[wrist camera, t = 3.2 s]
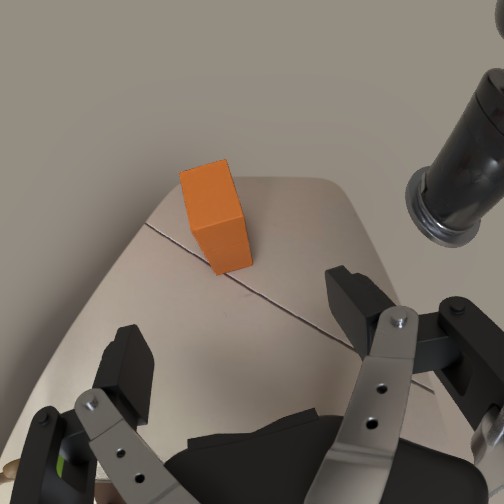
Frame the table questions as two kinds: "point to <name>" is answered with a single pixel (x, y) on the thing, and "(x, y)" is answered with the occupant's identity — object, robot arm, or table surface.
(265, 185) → the table surface
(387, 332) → the robot arm
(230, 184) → the orange lidded gift box
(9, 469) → the snail figurine
